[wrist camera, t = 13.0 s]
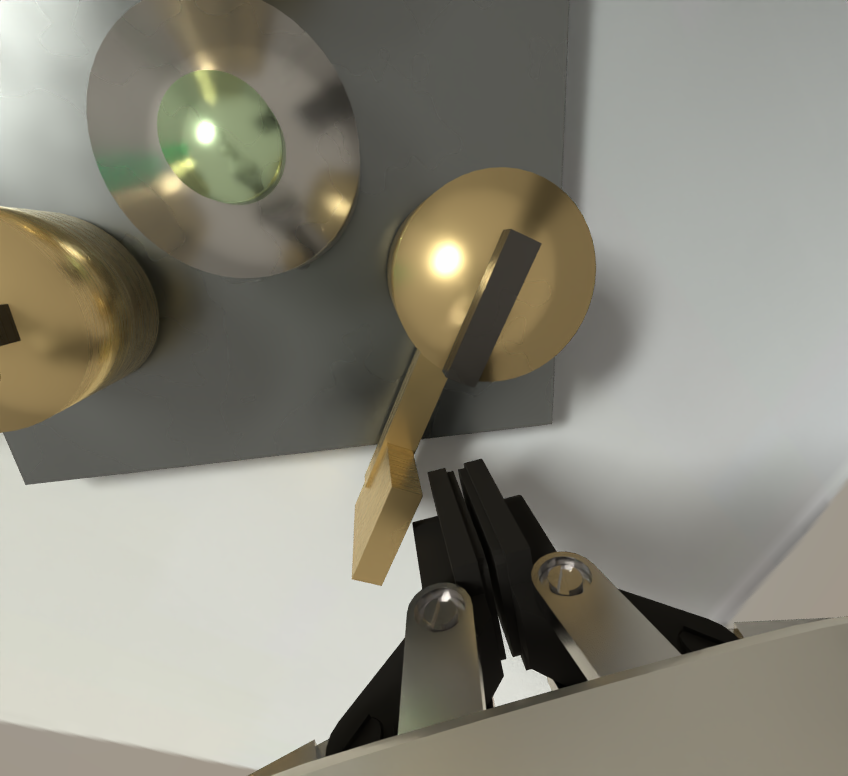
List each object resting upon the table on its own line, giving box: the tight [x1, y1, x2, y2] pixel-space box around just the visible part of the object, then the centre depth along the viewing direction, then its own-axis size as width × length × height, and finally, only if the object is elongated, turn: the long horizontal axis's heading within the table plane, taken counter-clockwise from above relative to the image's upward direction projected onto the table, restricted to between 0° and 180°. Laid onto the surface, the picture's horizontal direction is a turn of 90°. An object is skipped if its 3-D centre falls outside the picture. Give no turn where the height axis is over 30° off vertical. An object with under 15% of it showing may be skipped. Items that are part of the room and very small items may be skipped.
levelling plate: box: [0, 0, 569, 485], centre depth 10 cm, size 16×16×4 cm
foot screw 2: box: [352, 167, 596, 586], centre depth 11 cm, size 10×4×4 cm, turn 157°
